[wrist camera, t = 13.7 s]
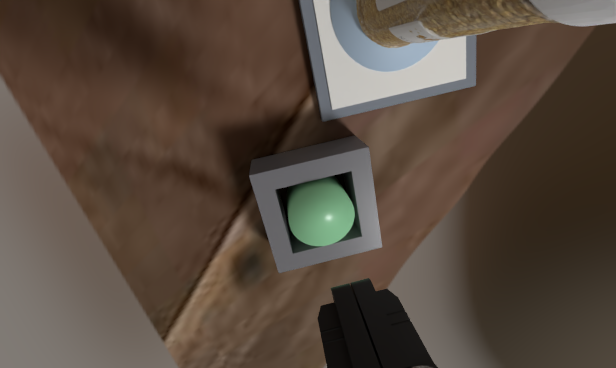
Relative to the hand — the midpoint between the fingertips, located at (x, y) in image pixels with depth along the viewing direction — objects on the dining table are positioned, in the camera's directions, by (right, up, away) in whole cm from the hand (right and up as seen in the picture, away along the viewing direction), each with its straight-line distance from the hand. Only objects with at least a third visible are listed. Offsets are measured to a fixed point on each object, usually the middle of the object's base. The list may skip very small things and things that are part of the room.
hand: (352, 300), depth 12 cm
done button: (-1, +3, +9) cm, 10 cm away
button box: (-1, +4, +10) cm, 11 cm away
